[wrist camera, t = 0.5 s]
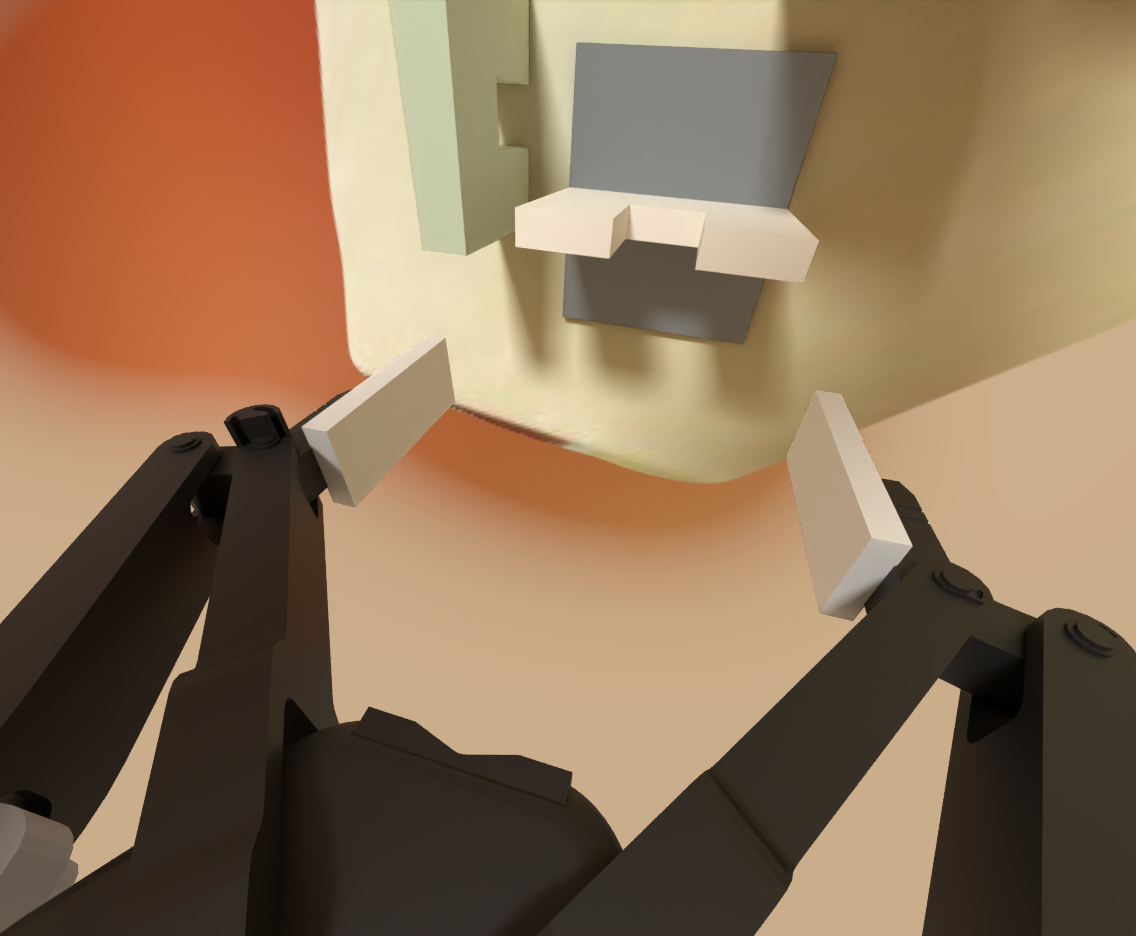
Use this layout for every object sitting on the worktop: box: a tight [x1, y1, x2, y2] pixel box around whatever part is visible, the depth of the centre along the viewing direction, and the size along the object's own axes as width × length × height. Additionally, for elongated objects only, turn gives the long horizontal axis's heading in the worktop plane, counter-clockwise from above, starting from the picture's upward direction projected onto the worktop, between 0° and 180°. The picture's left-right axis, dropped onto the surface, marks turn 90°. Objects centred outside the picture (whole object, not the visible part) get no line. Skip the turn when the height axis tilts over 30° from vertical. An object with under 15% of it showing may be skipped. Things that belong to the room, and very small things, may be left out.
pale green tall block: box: [388, 0, 529, 256], centre depth 27 cm, size 14×3×12 cm, turn 176°
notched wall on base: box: [515, 43, 837, 344], centre depth 28 cm, size 16×18×13 cm
